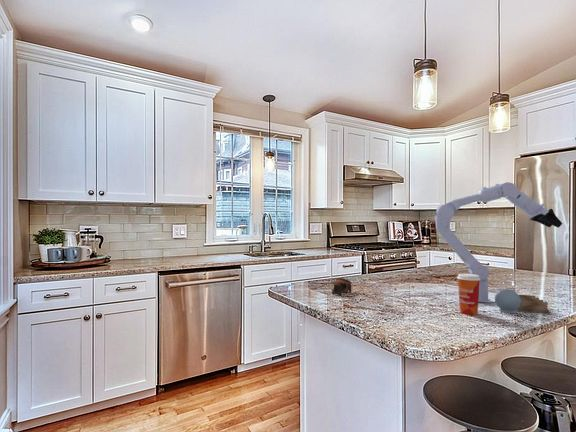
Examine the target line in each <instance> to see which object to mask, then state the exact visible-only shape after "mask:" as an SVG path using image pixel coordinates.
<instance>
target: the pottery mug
mask: <svg viewBox="0 0 576 432" xmlns="http://www.w3.org/2000/svg"><path fill="white" fill-rule="evenodd" d="M332 284H333V288H332V289H331V295H338V296H342V294H344V295H346V294H348V293H349V294H350V293H352V282H351V281H350V280H348V279H346V278H342V277H337V278H336V279H335V280H334V282H333V283H332Z"/></svg>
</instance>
